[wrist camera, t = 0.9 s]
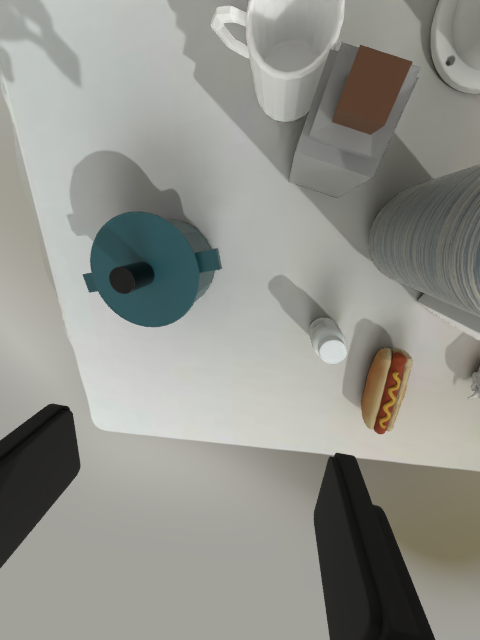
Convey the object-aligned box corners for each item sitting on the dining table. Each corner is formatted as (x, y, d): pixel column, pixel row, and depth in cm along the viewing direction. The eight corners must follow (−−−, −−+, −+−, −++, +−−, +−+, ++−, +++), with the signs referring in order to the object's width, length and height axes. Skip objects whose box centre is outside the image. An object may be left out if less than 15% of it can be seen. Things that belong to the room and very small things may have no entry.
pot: (111, 232, 39) (62, 233, 30) (222, 207, 36) (204, 200, 27) (136, 309, 43) (99, 330, 34) (239, 294, 40) (227, 312, 31)
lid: (80, 225, 30) (38, 224, 25) (185, 200, 28) (164, 193, 23) (117, 330, 35) (88, 348, 29) (212, 317, 32) (199, 333, 27)
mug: (232, 21, 29) (211, -75, 20) (334, 46, 29) (361, -42, 19) (217, 106, 32) (193, 56, 23) (310, 129, 31) (323, 88, 22)
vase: (343, 248, 35) (444, 277, 14) (407, 167, 31) (688, 29, 10) (409, 295, 36) (600, 389, 15) (480, 221, 32) (886, 202, 11)
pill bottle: (305, 339, 41) (311, 363, 33) (312, 314, 39) (320, 333, 32) (332, 345, 40) (344, 370, 33) (341, 320, 39) (356, 340, 32)
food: (387, 418, 43) (401, 440, 38) (353, 414, 44) (363, 436, 39) (408, 343, 38) (426, 358, 34) (370, 340, 39) (382, 355, 34)
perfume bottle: (337, 198, 33) (396, 164, 17) (288, 181, 34) (299, 132, 17) (361, 139, 31) (459, 32, 14) (309, 122, 31) (345, -4, 14)
